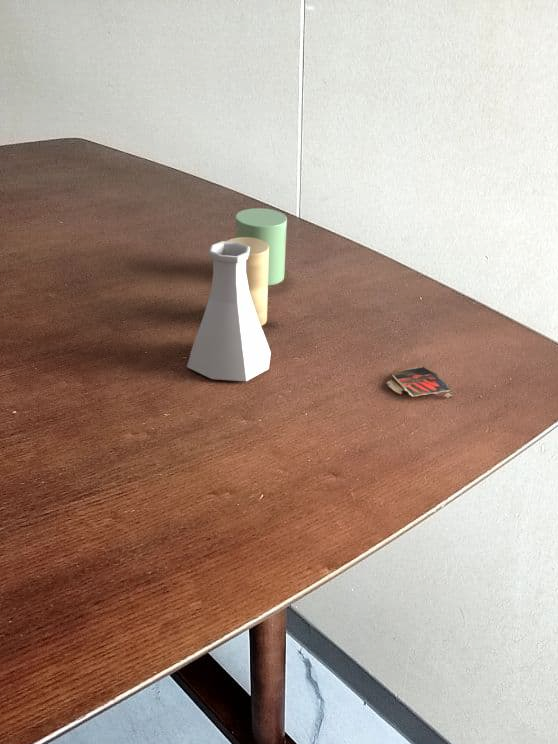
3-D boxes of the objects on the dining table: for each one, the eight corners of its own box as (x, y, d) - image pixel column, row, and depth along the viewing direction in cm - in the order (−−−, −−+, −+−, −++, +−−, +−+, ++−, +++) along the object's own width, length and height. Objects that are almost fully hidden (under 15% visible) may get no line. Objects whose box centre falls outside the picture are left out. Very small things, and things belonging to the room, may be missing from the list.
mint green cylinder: (231, 283, 86) (232, 223, 83) (239, 264, 90) (240, 205, 86) (281, 288, 86) (283, 228, 82) (287, 268, 90) (289, 210, 86)
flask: (252, 391, 71) (254, 274, 64) (172, 372, 72) (166, 256, 66) (284, 353, 76) (289, 241, 70) (209, 336, 78) (207, 225, 71)
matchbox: (419, 366, 75) (420, 361, 75) (460, 393, 72) (461, 388, 72) (378, 380, 73) (379, 375, 73) (418, 408, 70) (419, 403, 70)
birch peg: (220, 326, 79) (220, 252, 75) (227, 307, 82) (227, 235, 78) (263, 330, 79) (265, 256, 75) (269, 311, 82) (271, 239, 78)
